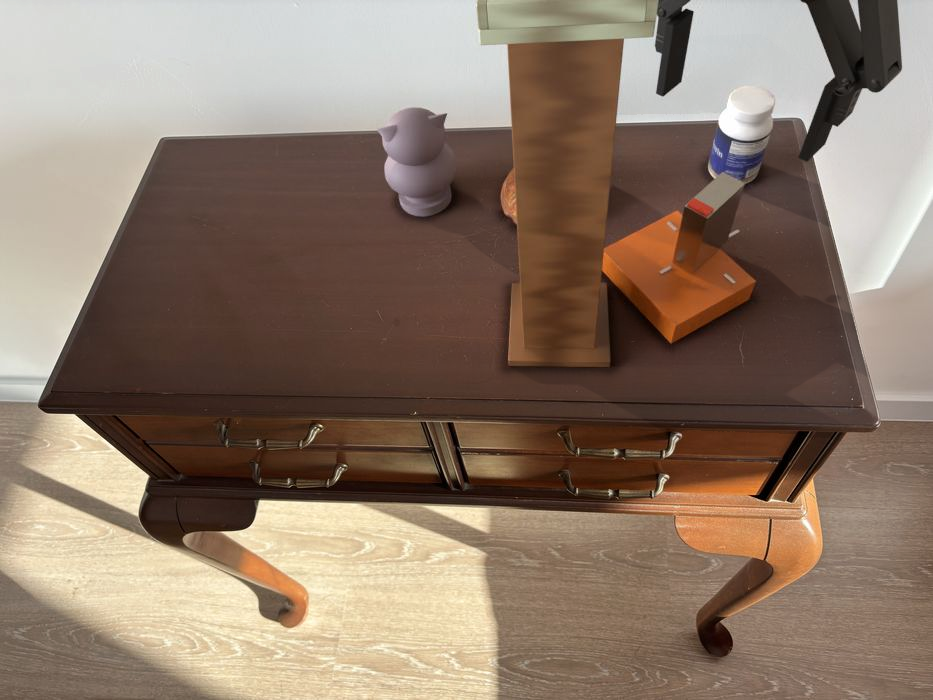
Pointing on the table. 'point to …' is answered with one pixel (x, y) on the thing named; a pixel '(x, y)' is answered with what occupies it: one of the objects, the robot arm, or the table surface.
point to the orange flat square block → (674, 280)
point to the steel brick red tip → (707, 222)
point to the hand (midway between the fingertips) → (736, 118)
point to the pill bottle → (742, 134)
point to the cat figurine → (419, 160)
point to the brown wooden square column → (562, 165)
